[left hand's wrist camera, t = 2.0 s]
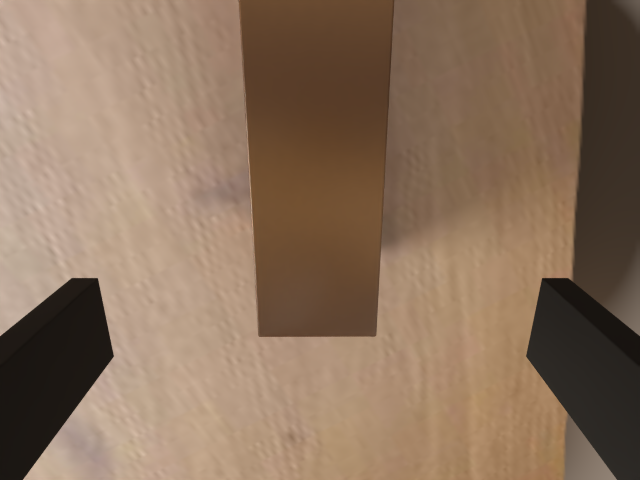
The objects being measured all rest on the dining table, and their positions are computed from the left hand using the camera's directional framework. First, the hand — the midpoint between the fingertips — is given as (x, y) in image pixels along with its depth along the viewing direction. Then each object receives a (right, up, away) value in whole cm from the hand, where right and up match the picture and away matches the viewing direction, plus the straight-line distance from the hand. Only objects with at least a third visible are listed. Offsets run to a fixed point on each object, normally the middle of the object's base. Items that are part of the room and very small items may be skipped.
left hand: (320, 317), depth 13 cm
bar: (0, +11, +10) cm, 15 cm away
